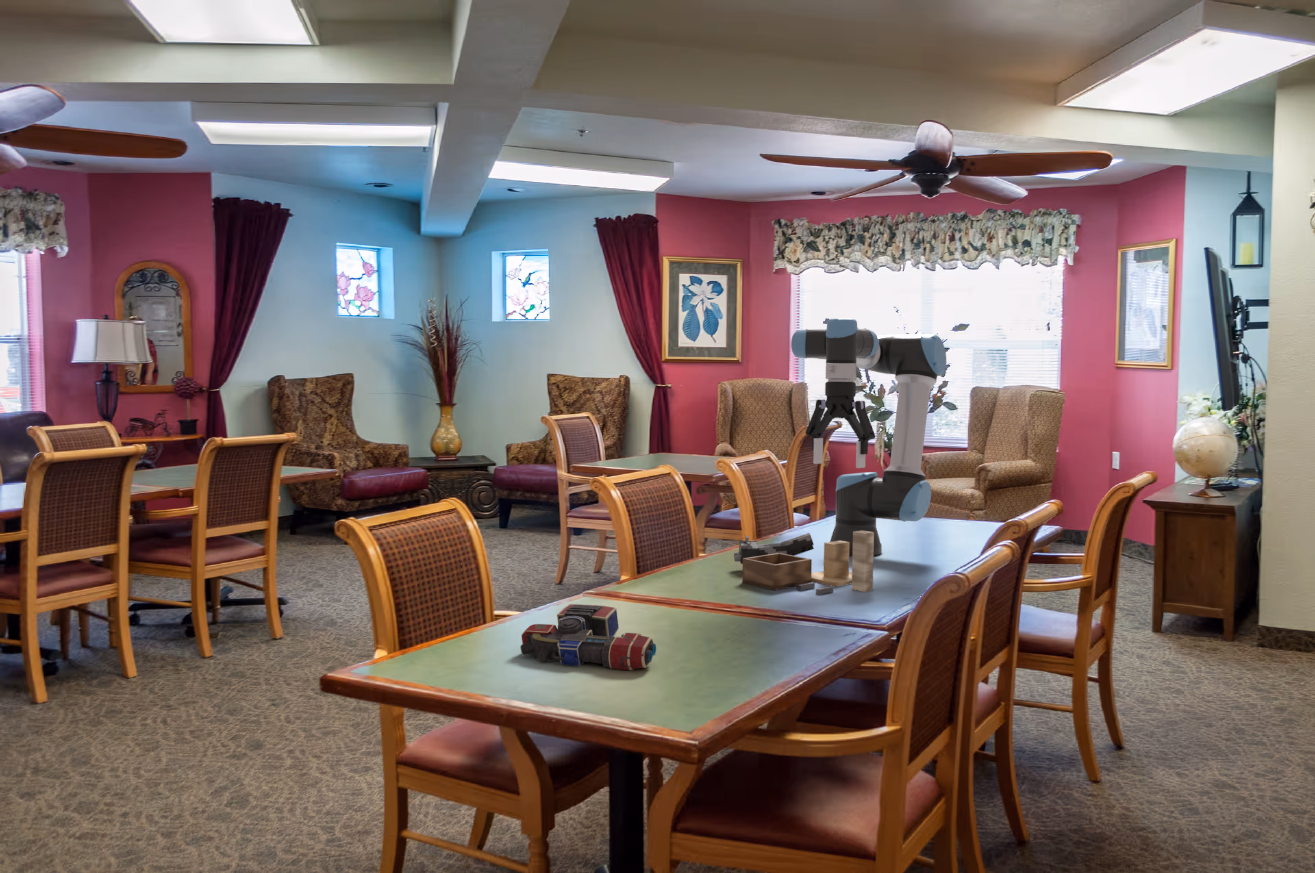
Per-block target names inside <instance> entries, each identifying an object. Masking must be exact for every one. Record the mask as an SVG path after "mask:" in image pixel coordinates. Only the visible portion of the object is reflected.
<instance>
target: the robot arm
mask: <svg viewBox="0 0 1315 873" xmlns="http://www.w3.org/2000/svg"><path fill="white" fill-rule="evenodd" d="M790 348H791V352H792V354H793V356H795V358H800V359H802V358H803V359H817V360H825V380H827V381H826V382H825V383H824V386H825V387H824V395H825V396H826V399H816V401H815V408H814V411H813V412H812V415H811V418H810V421H809V422H808V425H807V428H806V430H805V435H806V436H809V437H811V449H812V451H813V458H812V459H813V464H814V465H820V464H821V465H823V463H824V462H823V461H824V460H823V458H824V457H823V456H824V455H823V454H824V451H823V450H824V437H822V435H823V434H824V432H825V431H826V429H827V428H828V426H829V425H830V424H831V422H832V421H833V420H834V419H844V420H845V421H847V422H848V424H849V426H850V427H851V429H852V430H853V432H854V434H855V435H856V437H857V439H858V440H857V441H856V442H855V443H856V444H855V446H856V448H855V452H856V453H855V469H863V468H866V455H868V454H869V442H870V441H871V440H874V439H875V438H876V434H875V431H874V428H873V426H872V423H871V420H870V418H869V415H868V413H867V409H866V401H865V400H855V396H856V394H857V393H856V392H857V382H855V380H856V379H857V368H858V369H861V370H867V371H871V372H876V373H881V374H884V375H885V374H886V375H894V379H895V380H896V382H897V383H898V384H899V385H898V386H899V388H898V394H897V396H898V397H897V404H896V411H895V420H894V427H893V428H894V429H893V437H892V444H891V454H890V462H889V465H888V466H887V467H886V468H885V469H884V470H883V475H882V477H879V474H878V473H877V471H875V472H874V471H873V472H872V471H870V472H869V471H868V472H866V471H865V472H856V473H847V474H841V475H839V476H838V477H837V478H836V486H835V525H834V528H833V531H832V534H831V537H830V540H829V542H833V541H846V542H849V556H851V557H852V556H853V532H855V531H861V530H863V531H869V532H874V552H873V556H878V555H880V554H882V553H883V552H882V550H883V549H882V547H883V546H882V543H881V540H880V539H881V538H880V535H879V532H878V531H879V530H877V529H878V528H877V519H882V520H892V521H899V522H901V521H902V522H917V521H918V522H919V521H920V520H921V519H922V518H924V516H925V515H927V514H926V513H927V512H928V510H929V507H930V504H931V499H932V491H931V490H932V486H931V484H930V483H929V482H928V481H927V480H926V474H925V473H924V471H923V470H922V462H923V460H922V459H923V451H924V444H925V437H926V436H925V435H926V427H927V420H928V418H927V417H928V409H929V401H930V393H931V388H932V386H934V385H935V384H936V383H937V379H938V376H942V375H943V374H944V373H945V371H946V368H947V352H946V348H945V345H944V342H943V340H942V338H941V337H940V336H939V335H937V334H932V333H931V334H930V333H928V334H927V333H909V334H904V333H903V334H882V335H877V334H876V332H874V330H873V331H872V330H871V329H867V328H860V327H859V328H858V321H857V320H856V319H854V318H842V317H841V318H830V319H828V320H827V322H826V329H808V328H806V329H798V330H796V331H795V332H794V333H793V335H792V337H791V341H790ZM854 409H855V411H854Z"/></svg>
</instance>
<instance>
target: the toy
mask: <svg viewBox="0 0 1315 873" xmlns="http://www.w3.org/2000/svg"><path fill="white" fill-rule="evenodd" d="M749 537H750V536H749V535H745V538H744V540H739V543H738V544H739V547H738V548H739V549H738V551H737V552H733V560H734V562H735V563H736V562H738V563H740V564H741V565H743V558H749V557H756V556H762V555H768V554H775V553H782V554H787V555H792V556H797V555H800V554H803V553H806V552H809V551H812V550H814V548H815V547H814V541H813V538H812V536H811V533H810V532H807V533H804V534H801V535H799V536H795V537H793V538H790V539H787V540H784V541H781V542H779V543H778V542H777V543H776V542H775V543H763V544H757V541H756V540H749Z"/></svg>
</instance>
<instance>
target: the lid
mask: <svg viewBox="0 0 1315 873" xmlns="http://www.w3.org/2000/svg"><path fill="white" fill-rule="evenodd" d="M823 544H824V545H823V570H822V571H817V572H811V582H812V581H814V582H813V583H816V582H817V584H821V583H823V584H822V585H825V586H829V585H832V586H831V587H833V586H837V587H840V586H839V585H842V586H847V585H846V584H848V585H851V584H850V583H852V571H850V555H849V542H846V541H833V542H830V541H826V542H824V543H823Z"/></svg>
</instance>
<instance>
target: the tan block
mask: <svg viewBox="0 0 1315 873" xmlns="http://www.w3.org/2000/svg"><path fill="white" fill-rule="evenodd" d="M873 552H874V532H869V531H863V530H861V531H855V532H853V556H851V557H852V560H851V561H852V563H851V568H852V569H851V572H852V584H851V590H852V591H856V590H858V591H857V592H862V593H866V592H871V591H873V587H874V584H873V583H874V555H873ZM870 590H871V591H870Z"/></svg>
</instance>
